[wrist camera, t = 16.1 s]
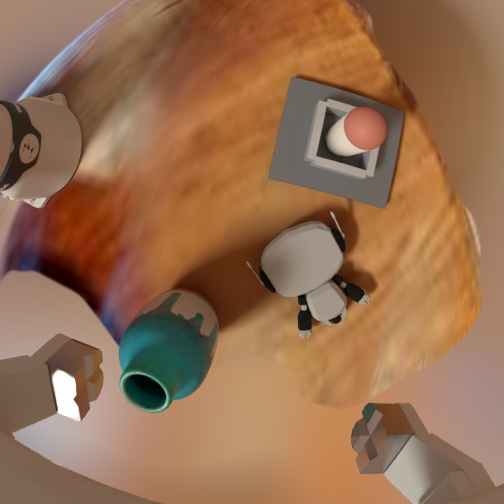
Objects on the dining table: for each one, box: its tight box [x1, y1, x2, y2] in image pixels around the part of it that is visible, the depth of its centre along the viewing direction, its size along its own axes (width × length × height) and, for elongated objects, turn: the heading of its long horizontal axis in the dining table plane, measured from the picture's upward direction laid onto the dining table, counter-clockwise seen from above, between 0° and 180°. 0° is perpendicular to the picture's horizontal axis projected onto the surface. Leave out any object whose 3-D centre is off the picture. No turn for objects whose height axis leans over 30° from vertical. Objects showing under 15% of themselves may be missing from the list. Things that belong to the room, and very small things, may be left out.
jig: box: [268, 77, 404, 209], centre depth 36 cm, size 16×14×4 cm
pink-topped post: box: [324, 107, 387, 158], centre depth 31 cm, size 4×4×12 cm
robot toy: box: [246, 212, 370, 338], centre depth 40 cm, size 12×4×15 cm
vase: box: [119, 288, 219, 413], centre depth 35 cm, size 11×11×19 cm
